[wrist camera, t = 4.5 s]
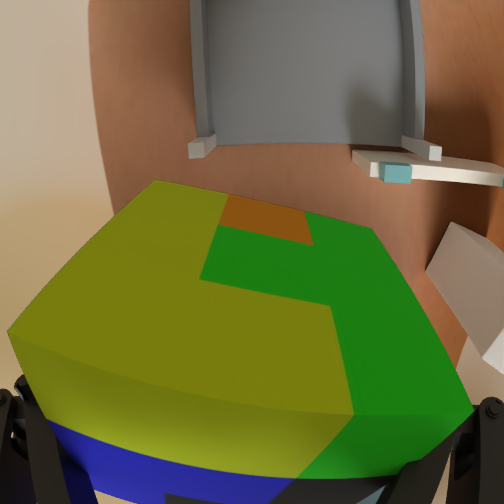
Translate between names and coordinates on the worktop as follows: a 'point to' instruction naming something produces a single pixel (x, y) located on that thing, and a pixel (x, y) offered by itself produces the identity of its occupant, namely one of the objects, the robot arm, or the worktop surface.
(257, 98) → the grey tray
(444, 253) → the milk carton
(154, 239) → the puzzle toy
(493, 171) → the cover panel
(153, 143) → the worktop surface
